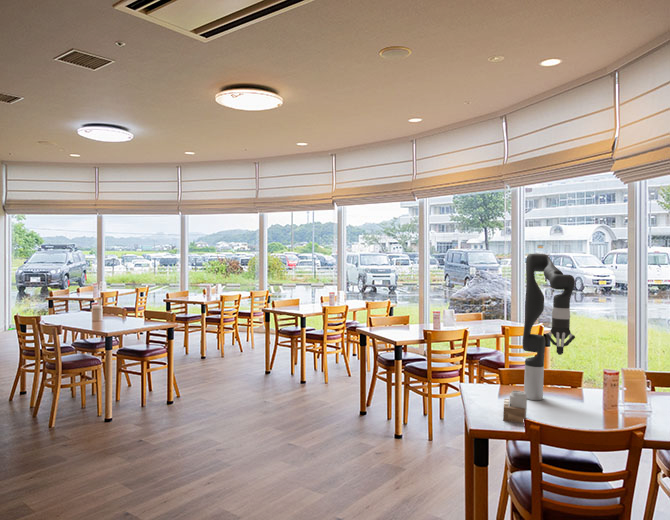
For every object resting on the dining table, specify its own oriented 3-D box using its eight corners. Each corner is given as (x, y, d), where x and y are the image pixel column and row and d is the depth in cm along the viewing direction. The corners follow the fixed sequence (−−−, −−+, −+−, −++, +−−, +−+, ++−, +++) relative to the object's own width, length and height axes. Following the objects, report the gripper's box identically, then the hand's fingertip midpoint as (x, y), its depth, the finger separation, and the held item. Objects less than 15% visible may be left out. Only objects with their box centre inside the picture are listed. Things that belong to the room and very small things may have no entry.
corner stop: (504, 411, 240) (504, 397, 240) (524, 413, 237) (524, 399, 237) (503, 420, 227) (503, 406, 227) (524, 423, 224) (525, 408, 224)
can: (506, 415, 235) (506, 389, 234) (521, 415, 236) (522, 389, 235) (513, 420, 227) (514, 394, 227) (529, 420, 228) (530, 394, 228)
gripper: (575, 317, 235) (574, 354, 235) (545, 315, 239) (544, 351, 240) (577, 319, 228) (576, 357, 228) (546, 317, 232) (544, 354, 233)
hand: (559, 354), depth 234 cm, fingers closed
